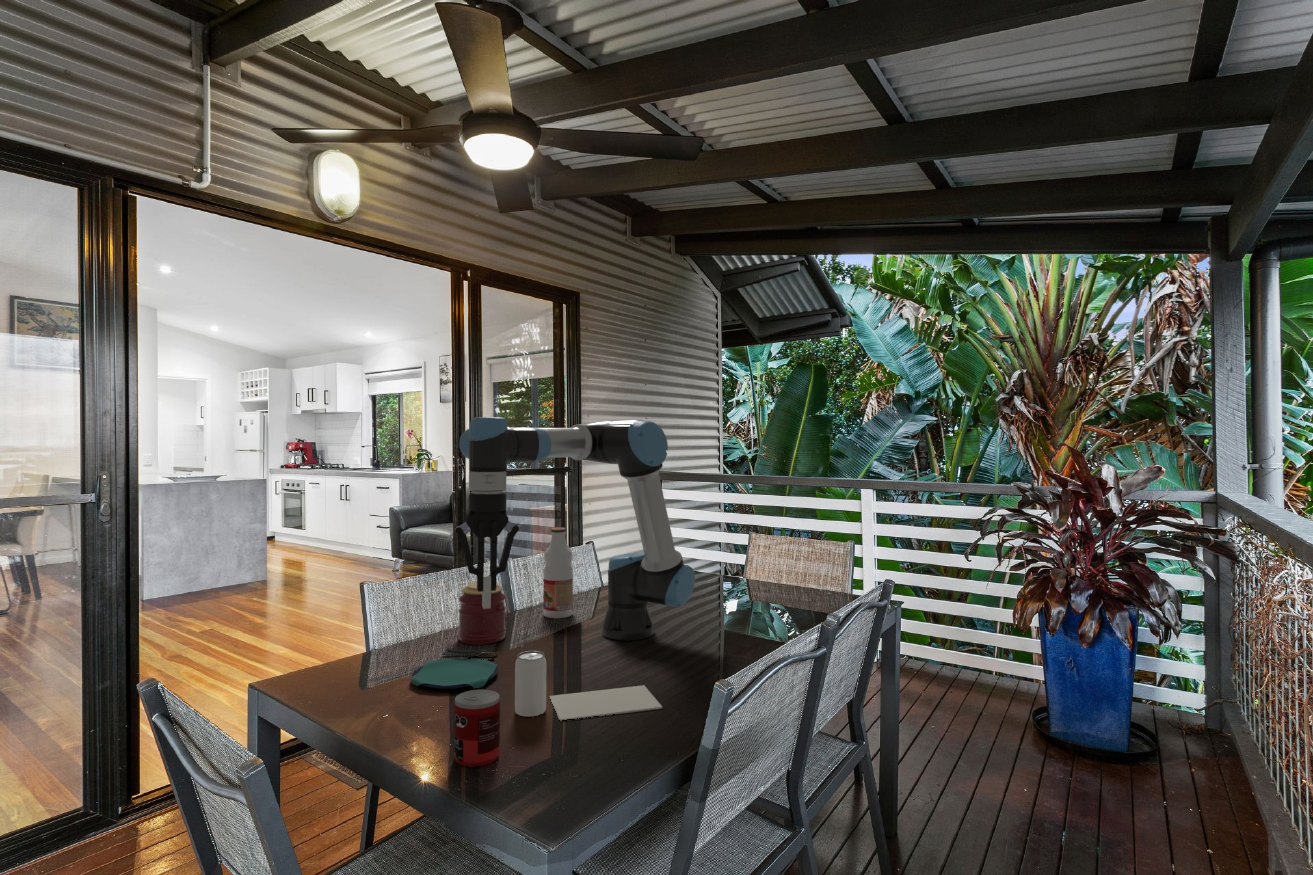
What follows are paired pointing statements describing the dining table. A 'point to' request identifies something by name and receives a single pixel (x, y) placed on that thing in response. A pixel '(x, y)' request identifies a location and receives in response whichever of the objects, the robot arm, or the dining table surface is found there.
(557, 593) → the fruit juice
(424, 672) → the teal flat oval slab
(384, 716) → the dining table surface
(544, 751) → the dining table surface
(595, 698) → the mat
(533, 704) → the can
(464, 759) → the canned food
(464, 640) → the canister
